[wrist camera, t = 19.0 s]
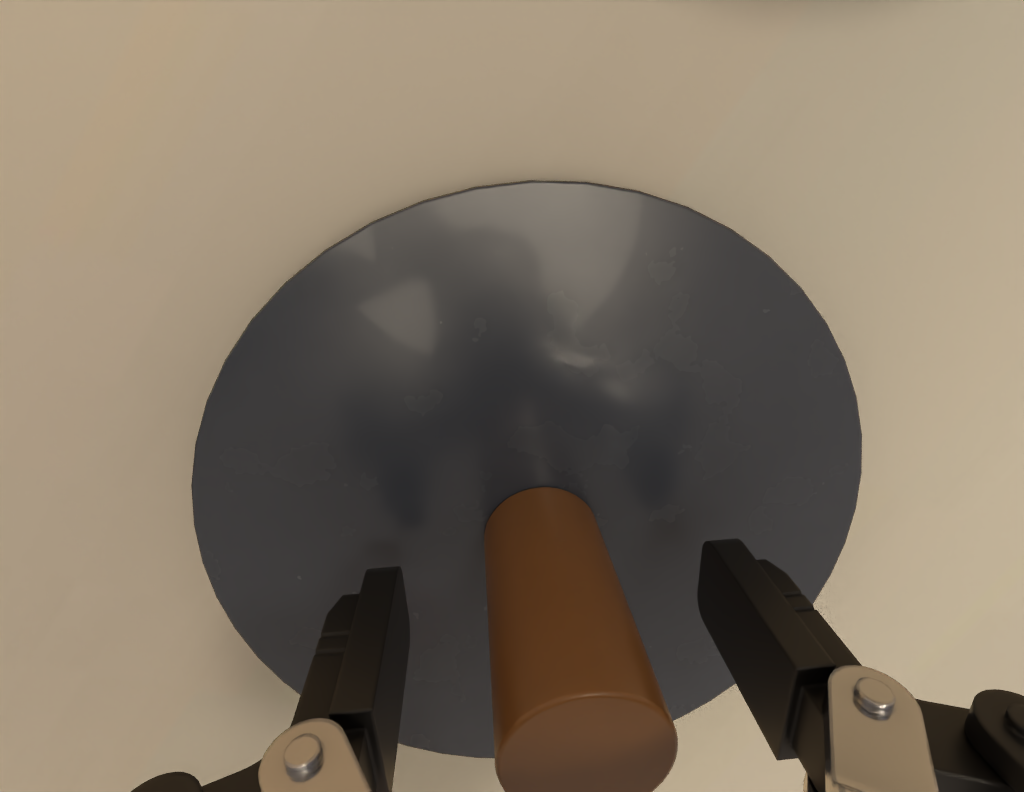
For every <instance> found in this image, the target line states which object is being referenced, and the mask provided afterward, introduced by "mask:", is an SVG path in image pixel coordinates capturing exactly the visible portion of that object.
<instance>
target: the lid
mask: <svg viewBox="0 0 1024 792" xmlns="http://www.w3.org/2000/svg"><path fill="white" fill-rule="evenodd" d="M861 460H862V433H861V426H860V419H859V412H858V405H857V398H856V395H855V391H854V388H853V385H852V382H851V378H850V375H849V372H848V369H847V365H846V362H845V359H844V357H843V355H842V353H841V351H840V349H839V347H838V345H837V343H836V341H835V339H834V337H833V335H832V333H831V331H830V329H829V327H828V325H827V323H826V322H825V320H824V319H823V318H822V316H821V315H820V313H819V312H818V311H817V309H816V308H815V306H814V305H813V304H812V302H811V301H810V300H809V298H808V297H807V295H806V294H805V293H804V291H803V290H802V288H801V287H800V286H799V285H798V284H797V283H796V282H795V281H794V280H793V279H792V278H791V277H790V276H789V275H788V274H787V273H786V272H785V271H784V270H783V269H782V268H781V267H780V266H779V265H778V264H777V263H776V262H775V261H774V260H773V259H772V258H771V257H770V256H768V255H767V254H765V253H764V252H763V251H761V250H760V249H758V248H757V247H756V246H754V245H753V244H751V243H750V242H749V241H747V240H746V239H744V238H743V237H742V236H740V235H739V234H738V233H736V232H735V231H733V230H732V229H730V228H728V227H726V226H724V225H722V224H720V223H718V222H716V221H714V220H712V219H710V218H708V217H706V216H705V215H703V214H701V213H699V212H697V211H695V210H693V209H691V208H689V207H686V206H683V205H680V204H677V203H674V202H671V201H668V200H665V199H662V198H659V197H656V196H653V195H650V194H647V193H644V192H641V191H637V190H631V189H625V188H619V187H613V186H607V185H602V184H596V183H590V182H573V181H535V180H529V181H520V182H511V183H503V184H494V185H486V186H477V187H472V188H469V189H465V190H461V191H457V192H453V193H450V194H446V195H442V196H438V197H434V198H430V199H427V200H423V201H421V202H418V203H416V204H414V205H411V206H409V207H406V208H404V209H402V210H399V211H397V212H395V213H392V214H390V215H387V216H385V217H383V218H380V219H378V220H375V221H373V222H371V223H369V224H368V225H366V226H364V227H363V228H361V229H359V230H358V231H356V232H354V233H353V234H351V235H349V236H348V237H346V238H344V239H343V240H341V241H339V242H338V243H336V244H334V245H333V246H331V247H329V248H328V249H326V250H325V251H323V252H322V253H321V254H320V255H318V256H317V257H316V258H315V259H314V260H312V261H311V262H310V263H309V264H307V265H306V266H305V267H304V268H303V269H301V270H300V271H299V272H298V273H297V274H295V275H294V276H293V277H292V278H290V279H289V280H288V281H287V282H286V283H284V285H283V286H282V287H281V288H280V289H279V290H278V291H277V292H276V293H275V295H274V296H273V297H272V298H271V299H270V300H269V301H268V302H267V303H266V305H265V306H264V307H263V308H262V309H261V310H260V311H259V312H258V313H257V314H256V316H255V317H254V318H253V319H252V320H251V322H250V323H249V325H248V326H247V328H246V329H245V331H244V332H243V334H242V335H241V337H240V338H239V340H238V341H237V343H236V344H235V346H234V347H233V349H232V351H231V352H230V354H229V355H228V357H227V358H226V360H225V362H224V364H223V366H222V368H221V371H220V373H219V375H218V377H217V380H216V382H215V384H214V386H213V389H212V391H211V393H210V395H209V397H208V400H207V402H206V406H205V410H204V413H203V417H202V421H201V425H200V429H199V432H198V436H197V440H196V444H195V455H194V465H193V475H192V500H193V515H194V526H195V531H196V535H197V539H198V544H199V548H200V552H201V557H202V561H203V564H204V567H205V569H206V572H207V574H208V577H209V579H210V582H211V584H212V587H213V589H214V592H215V594H216V597H217V598H218V600H219V602H220V604H221V605H222V607H223V609H224V610H225V612H226V614H227V616H228V617H229V619H230V621H231V622H232V624H233V626H234V627H235V629H236V630H237V632H238V633H239V634H240V635H241V637H242V638H243V639H244V640H245V642H246V643H247V644H248V645H249V647H250V648H251V649H252V651H253V652H254V653H255V654H256V656H257V657H258V658H259V659H260V660H261V661H262V662H263V663H264V664H265V665H266V666H267V667H268V668H269V669H271V670H272V671H273V672H274V673H275V674H276V675H277V676H278V677H279V678H280V679H281V680H282V681H283V682H284V683H285V684H287V685H288V686H289V687H291V688H292V689H293V690H295V691H296V692H297V693H299V694H300V695H301V693H302V690H303V687H304V684H305V681H306V678H307V675H308V672H309V669H310V666H311V662H312V659H313V656H314V655H315V650H316V647H317V644H318V641H319V638H321V632H322V629H323V625H324V622H325V619H326V616H327V613H328V612H329V611H330V610H331V609H332V607H333V606H334V605H335V604H336V603H337V601H338V600H339V599H340V598H341V596H342V595H349V594H360V591H361V587H362V583H363V579H364V575H365V572H366V570H367V569H373V568H384V567H396V566H400V567H401V569H402V573H403V580H404V587H405V593H406V600H407V607H408V613H409V621H410V647H409V656H408V664H407V672H406V680H405V688H404V696H403V704H402V712H401V720H400V728H399V736H398V743H400V744H403V745H406V746H410V747H414V748H419V749H423V750H428V751H432V752H437V753H442V754H450V755H458V756H466V757H474V758H495V768H496V774H497V776H498V779H499V782H500V784H501V785H502V787H503V789H504V790H505V792H652V791H653V790H655V789H656V788H657V787H658V786H659V785H660V784H661V783H662V782H663V780H664V779H665V778H666V776H667V775H668V774H669V772H670V770H671V768H672V767H673V764H674V762H675V759H676V755H677V747H678V738H677V732H676V729H675V726H674V723H673V721H674V720H676V719H678V718H680V717H682V716H684V715H686V714H687V713H689V712H691V711H693V710H695V709H696V708H698V707H700V706H702V705H704V704H705V703H707V702H709V701H711V700H712V699H714V698H715V697H717V696H718V695H720V694H721V693H722V692H724V691H725V690H727V689H728V688H730V687H731V686H733V685H734V684H736V682H735V680H734V679H733V677H732V675H731V673H730V671H729V669H728V667H727V665H726V664H725V662H724V660H723V658H722V656H721V654H720V652H719V650H718V649H717V647H716V645H715V643H714V641H713V639H712V637H711V636H710V634H709V632H708V630H707V628H706V626H705V624H704V622H703V620H702V618H701V615H700V611H699V607H698V600H697V590H698V581H699V572H700V562H701V553H702V546H703V544H704V542H705V541H712V540H723V539H735V538H737V539H740V540H741V541H742V542H743V543H744V544H745V546H746V547H747V548H748V550H749V551H750V552H751V553H752V555H753V556H754V557H755V559H756V560H760V559H766V560H768V561H769V562H771V563H772V564H774V565H775V566H777V567H778V568H780V569H781V570H783V571H784V572H785V573H787V574H788V575H789V577H790V578H791V579H792V580H793V582H794V583H795V584H796V585H797V586H798V588H799V589H800V590H801V593H802V595H805V596H806V598H807V599H808V600H809V601H810V602H811V604H812V605H813V603H814V601H815V600H816V598H817V596H818V595H819V593H820V592H821V590H822V588H823V587H824V585H825V583H826V582H827V580H828V578H829V577H830V575H831V573H832V571H833V568H834V566H835V564H836V562H837V560H838V557H839V555H840V553H841V551H842V549H843V546H844V544H845V542H846V538H847V535H848V532H849V528H850V525H851V522H852V519H853V515H854V512H855V509H856V503H857V497H858V490H859V484H860V478H861Z"/></svg>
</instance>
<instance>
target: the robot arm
mask: <svg viewBox="0 0 1024 792" xmlns="http://www.w3.org/2000/svg"><path fill="white" fill-rule="evenodd" d="M697 600H698V607H699V611H700V615H701V618H702V620H703V622H704V624H705V626H706V628H707V630H708V632H709V634H710V636H711V637H712V639H713V641H714V643H715V645H716V647H717V649H718V650H719V652H720V654H721V656H722V658H723V660H724V662H725V664H726V665H727V667H728V669H729V671H730V673H731V675H732V677H733V679H734V680H735V682H736V684H737V686H738V688H739V690H740V692H741V694H742V695H743V697H744V699H745V701H746V703H747V705H748V707H749V709H750V710H751V712H752V714H753V716H754V718H755V720H756V722H757V724H758V725H759V727H760V729H761V731H762V733H763V735H764V737H765V739H766V740H767V742H768V744H769V746H770V748H771V750H772V752H773V754H774V755H775V757H776V759H777V760H785V759H794V758H799V760H800V762H801V763H802V765H803V767H804V769H805V770H806V774H805V778H804V784H803V792H1024V696H1022V695H1020V694H1016V693H1013V692H1009V691H1004V690H995V689H994V690H985V691H982V692H980V693H978V694H977V695H976V696H975V697H974V700H973V703H972V705H971V708H970V709H966V708H960V707H955V706H949V705H944V704H938V703H933V702H927V701H922V700H918V699H915V698H914V697H913V695H912V694H911V693H910V692H909V691H908V690H907V689H906V688H905V687H904V686H902V685H901V684H900V683H899V682H897V681H896V680H894V679H893V678H891V677H889V676H888V675H886V674H884V673H882V672H880V671H877V670H875V669H872V668H868V667H864V666H862V665H861V664H860V663H859V662H858V660H857V659H856V658H855V657H854V655H853V654H852V653H851V652H850V650H849V649H848V648H847V647H846V646H845V644H844V643H843V642H842V641H841V639H840V638H839V637H838V636H837V634H836V633H835V632H834V631H833V630H832V628H831V627H830V626H829V625H828V623H827V622H826V621H825V620H824V618H823V617H822V616H821V615H820V614H819V612H818V611H817V610H814V608H813V605H812V604H811V602H810V601H809V600H808V599H807V598H806V596H805V595H802V593H801V590H800V589H799V588H798V586H797V585H796V584H795V583H794V582H793V580H792V579H791V578H790V577H789V575H788V574H787V573H785V572H784V571H783V570H781V569H780V568H778V567H777V566H775V565H774V564H772V563H771V562H769V561H768V560H766V559H760V560H756V559H755V557H754V556H753V555H752V553H751V552H750V551H749V550H748V548H747V547H746V546H745V544H744V543H743V542H742V541H741V540H740V539H737V538H735V539H723V540H712V541H705V542H704V544H703V546H702V553H701V562H700V572H699V581H698V590H697ZM409 647H410V621H409V613H408V607H407V600H406V593H405V587H404V580H403V573H402V569H401V567H400V566H396V567H384V568H373V569H367V570H366V572H365V575H364V579H363V583H362V587H361V591H360V594H349V595H342V596H341V598H340V599H339V600H338V601H337V603H336V604H335V605H334V606H333V607H332V609H331V610H330V611H329V612H328V613H327V616H326V619H325V622H324V625H323V629H322V632H321V638H319V641H318V644H317V647H316V650H315V655H314V656H313V659H312V662H311V666H310V669H309V672H308V675H307V678H306V681H305V684H304V687H303V690H302V693H301V696H300V700H299V703H298V706H297V709H296V712H295V715H294V718H293V721H292V723H291V726H290V728H288V729H287V730H285V731H284V732H283V733H281V734H280V735H279V736H278V737H277V738H276V739H275V740H274V741H273V742H272V744H271V745H270V746H269V747H268V749H267V750H266V752H265V754H264V756H263V758H262V759H261V760H260V761H258V762H257V763H255V764H253V765H252V766H250V767H248V768H246V769H244V770H241V771H239V772H236V773H234V774H232V775H229V776H227V777H224V778H222V779H219V780H217V781H214V782H212V783H210V784H207V785H205V786H202V787H201V785H200V783H199V781H198V780H197V779H196V778H195V777H194V776H192V775H190V774H188V773H184V772H171V773H166V774H163V775H159V776H157V777H154V778H152V779H150V780H148V781H146V782H144V783H143V784H141V785H140V786H138V787H137V788H135V789H134V790H132V791H131V792H392V785H393V777H394V769H395V761H396V752H397V744H398V736H399V728H400V720H401V712H402V704H403V696H404V688H405V680H406V672H407V664H408V656H409Z"/></svg>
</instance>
